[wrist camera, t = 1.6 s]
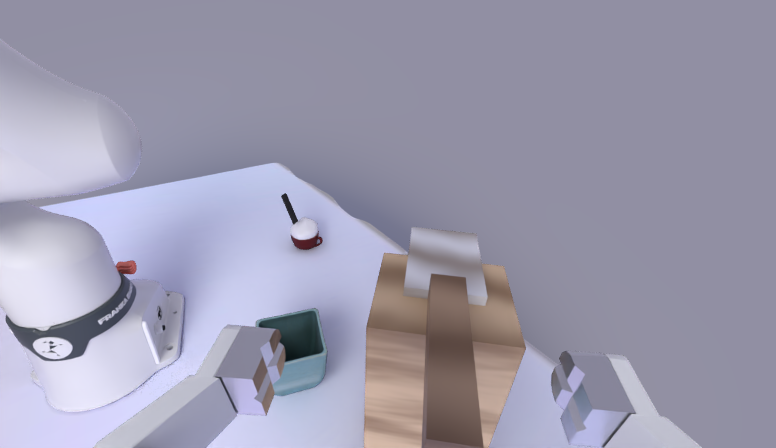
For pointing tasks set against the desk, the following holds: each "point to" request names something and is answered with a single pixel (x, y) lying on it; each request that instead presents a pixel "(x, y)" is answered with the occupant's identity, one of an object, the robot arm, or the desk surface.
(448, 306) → the turner
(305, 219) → the cocoa
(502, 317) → the oak stand
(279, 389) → the flower pot
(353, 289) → the desk surface
